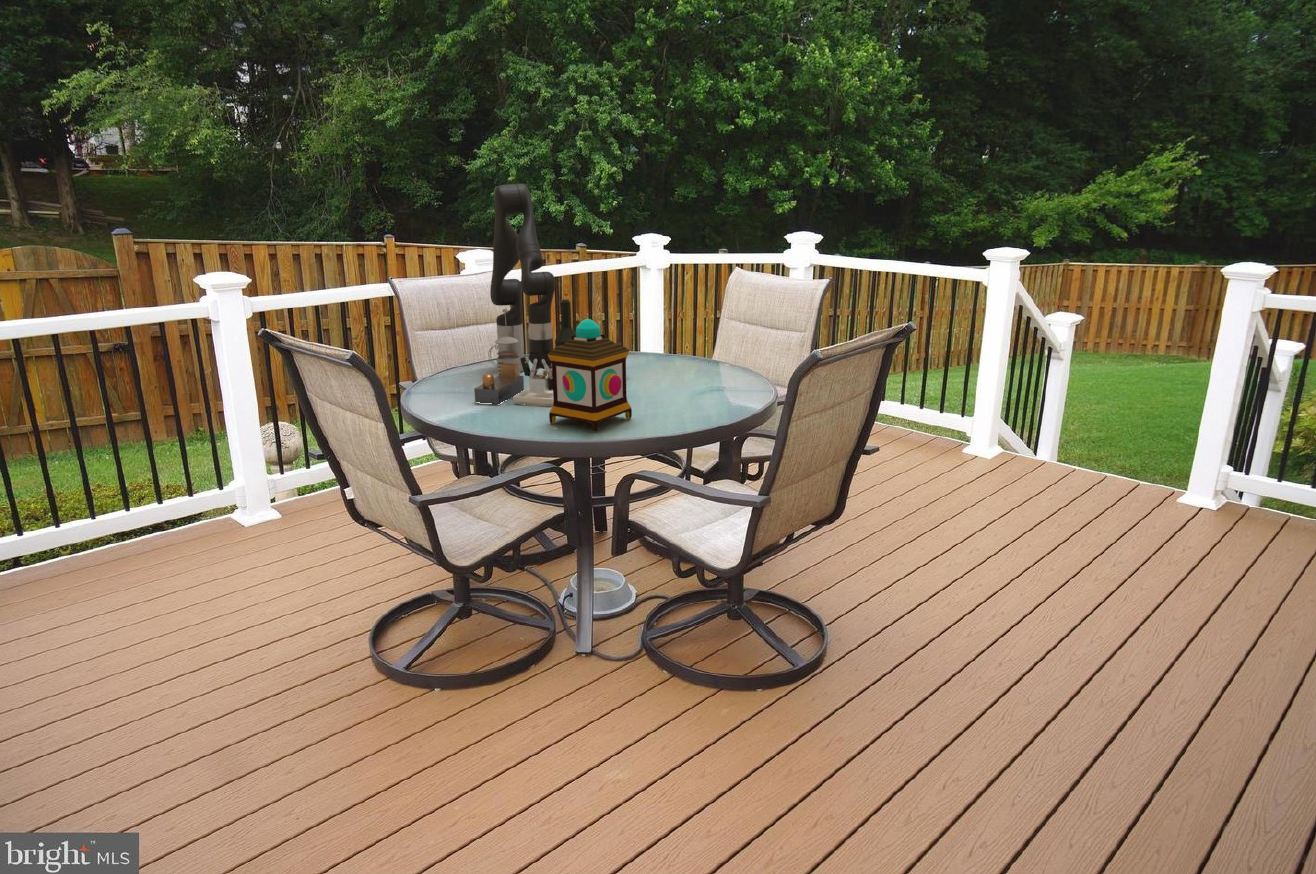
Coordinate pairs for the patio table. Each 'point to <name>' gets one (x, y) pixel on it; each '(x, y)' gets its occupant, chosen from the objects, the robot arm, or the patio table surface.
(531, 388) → the lever cap
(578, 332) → the decorative lantern
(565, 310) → the wine bottle
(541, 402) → the tray
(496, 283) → the robot arm
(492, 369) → the patio table surface
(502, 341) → the french press
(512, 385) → the plane body
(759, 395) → the patio table surface
